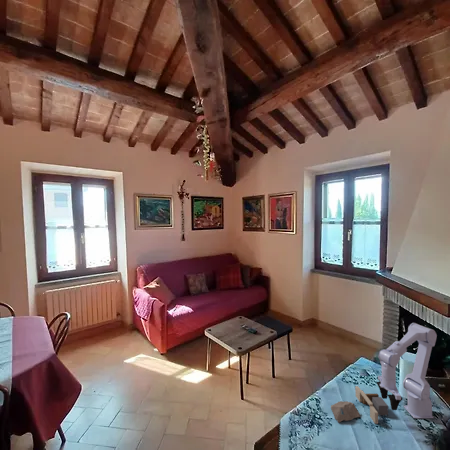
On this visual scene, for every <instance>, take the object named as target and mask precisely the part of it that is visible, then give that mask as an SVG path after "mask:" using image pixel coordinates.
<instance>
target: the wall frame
mask: <svg viewBox="0 0 450 450" xmlns="http://www.w3.org/2000/svg"><path fill="white" fill-rule="evenodd" d="M354 390H355V397H356V398H357V400H358V402H359V403H362V396H363V397H364V399H365V400H366V401H367V403H368V404H367V405H369V417H370V419H371V420H372V422H373V423H374V424H375V425H377V424H379V415H378V412H377V411H376V409H375V408H374V407H373V403H372V402H371V401H370V400H369V398H368V397H367V396H366V394H367V393H366V392H364V391H363V390H361V388H360V387H359V386H358V385H357V386H355V389H354Z"/></svg>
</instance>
